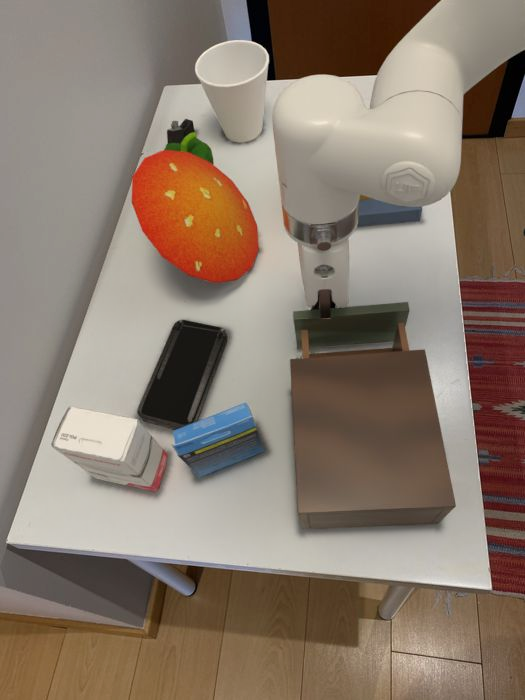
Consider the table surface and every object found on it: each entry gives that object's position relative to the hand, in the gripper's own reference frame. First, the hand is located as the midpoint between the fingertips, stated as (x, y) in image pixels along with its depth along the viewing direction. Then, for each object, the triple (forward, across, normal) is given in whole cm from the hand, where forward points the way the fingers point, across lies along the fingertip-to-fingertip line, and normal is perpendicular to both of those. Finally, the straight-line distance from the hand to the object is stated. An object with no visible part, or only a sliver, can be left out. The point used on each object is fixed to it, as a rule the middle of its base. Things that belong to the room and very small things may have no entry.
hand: (322, 310), depth 66 cm
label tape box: (+4, -17, +13) cm, 22 cm away
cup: (+4, +42, +11) cm, 43 cm away
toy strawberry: (+4, +15, +16) cm, 22 cm away
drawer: (+3, -10, -3) cm, 11 cm away
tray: (+4, +24, -7) cm, 25 cm away
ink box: (+4, -18, +25) cm, 31 cm away
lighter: (+4, +39, +22) cm, 45 cm away
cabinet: (+4, -18, -3) cm, 19 cm away
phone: (+4, -6, +19) cm, 20 cm away
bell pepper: (+4, +28, +19) cm, 34 cm away
